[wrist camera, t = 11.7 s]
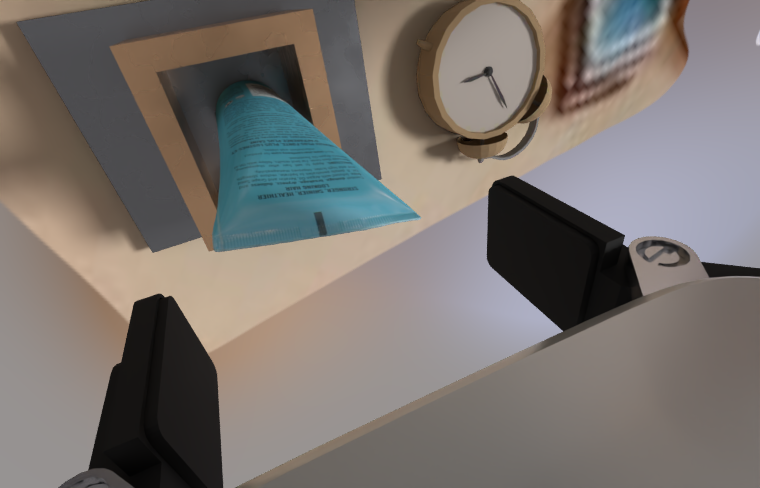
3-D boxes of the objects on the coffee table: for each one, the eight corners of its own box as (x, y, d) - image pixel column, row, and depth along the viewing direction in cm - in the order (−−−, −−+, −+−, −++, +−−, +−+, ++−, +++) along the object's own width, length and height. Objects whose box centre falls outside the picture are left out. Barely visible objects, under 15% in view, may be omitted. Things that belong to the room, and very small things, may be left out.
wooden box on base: (343, -31, 27) (384, -42, 22) (376, 174, 36) (411, 204, 31) (23, 21, 22) (-33, 23, 17) (153, 245, 31) (146, 296, 26)
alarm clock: (514, -45, 29) (584, 114, 36) (480, -28, 34) (548, 111, 41) (405, 56, 29) (495, 194, 36) (385, 60, 34) (468, 183, 41)
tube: (208, 154, 29) (232, 312, 13) (188, 85, 26) (192, 183, 11) (305, 139, 31) (420, 259, 16) (297, 74, 28) (423, 142, 13)
